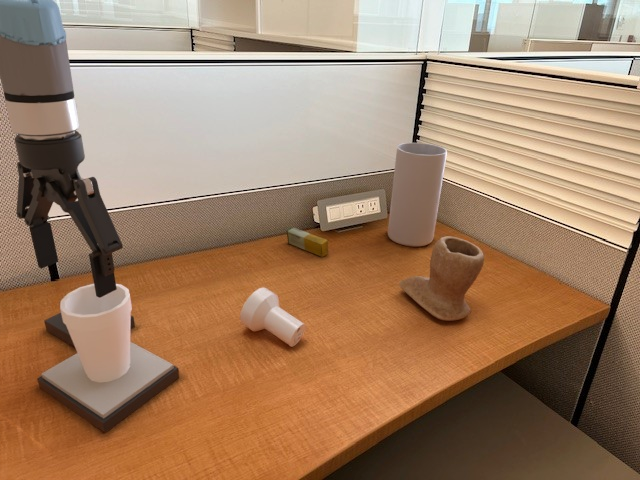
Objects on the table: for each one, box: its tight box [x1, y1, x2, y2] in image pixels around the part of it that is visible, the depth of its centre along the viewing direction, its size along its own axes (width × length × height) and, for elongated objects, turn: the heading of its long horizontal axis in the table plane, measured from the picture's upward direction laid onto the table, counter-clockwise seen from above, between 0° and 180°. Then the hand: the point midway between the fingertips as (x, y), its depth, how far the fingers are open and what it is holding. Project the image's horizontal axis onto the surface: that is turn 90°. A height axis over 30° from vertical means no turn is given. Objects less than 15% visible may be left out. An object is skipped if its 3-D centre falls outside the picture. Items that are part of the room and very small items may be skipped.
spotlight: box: [239, 286, 307, 348], centre depth 89 cm, size 8×11×8 cm
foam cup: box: [59, 283, 133, 383], centre depth 73 cm, size 10×9×13 cm
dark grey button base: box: [44, 312, 136, 348], centre depth 88 cm, size 12×10×4 cm
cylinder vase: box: [387, 142, 448, 248], centre depth 127 cm, size 12×12×25 cm
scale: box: [36, 341, 180, 434], centre depth 76 cm, size 16×14×3 cm
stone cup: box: [398, 235, 485, 322], centre depth 99 cm, size 15×12×15 cm
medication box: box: [286, 226, 329, 258], centre depth 122 cm, size 12×3×4 cm, turn 50°
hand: (76, 278), depth 70 cm, fingers open, 13 cm apart
